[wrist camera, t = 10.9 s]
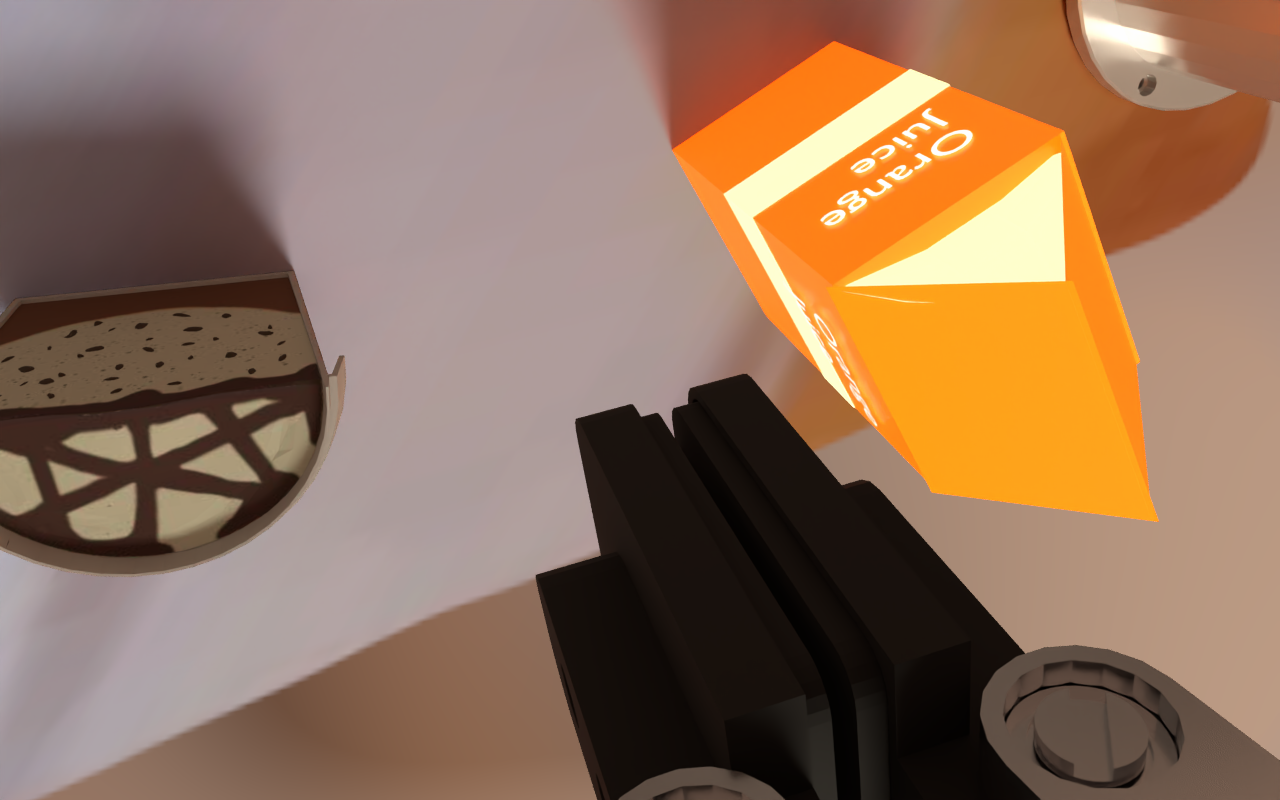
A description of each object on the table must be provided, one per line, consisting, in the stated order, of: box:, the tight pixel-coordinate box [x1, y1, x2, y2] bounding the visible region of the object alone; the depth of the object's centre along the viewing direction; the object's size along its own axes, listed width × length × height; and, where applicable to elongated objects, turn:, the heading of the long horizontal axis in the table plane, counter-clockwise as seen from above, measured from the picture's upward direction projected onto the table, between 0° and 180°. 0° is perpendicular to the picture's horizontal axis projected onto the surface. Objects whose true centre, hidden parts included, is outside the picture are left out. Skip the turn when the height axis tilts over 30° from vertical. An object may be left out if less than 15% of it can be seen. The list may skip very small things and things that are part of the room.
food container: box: [0, 271, 346, 577], centre depth 36 cm, size 12×6×10 cm, turn 90°
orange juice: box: [672, 41, 1158, 522], centre depth 35 cm, size 8×9×20 cm
